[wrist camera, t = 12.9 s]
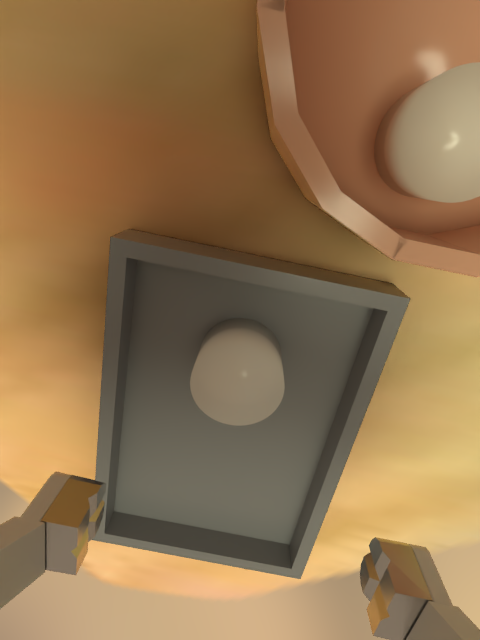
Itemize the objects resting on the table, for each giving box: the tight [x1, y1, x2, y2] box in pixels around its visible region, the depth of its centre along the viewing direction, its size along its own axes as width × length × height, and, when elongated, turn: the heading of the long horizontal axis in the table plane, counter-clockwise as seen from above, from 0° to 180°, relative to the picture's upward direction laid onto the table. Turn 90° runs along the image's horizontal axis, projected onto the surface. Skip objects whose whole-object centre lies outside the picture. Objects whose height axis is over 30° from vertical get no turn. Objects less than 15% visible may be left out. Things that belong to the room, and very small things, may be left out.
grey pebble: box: [190, 318, 285, 426], centre depth 19 cm, size 4×4×3 cm
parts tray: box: [92, 229, 410, 579], centre depth 22 cm, size 14×20×2 cm
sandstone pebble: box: [374, 62, 480, 203], centre depth 15 cm, size 4×4×3 cm
